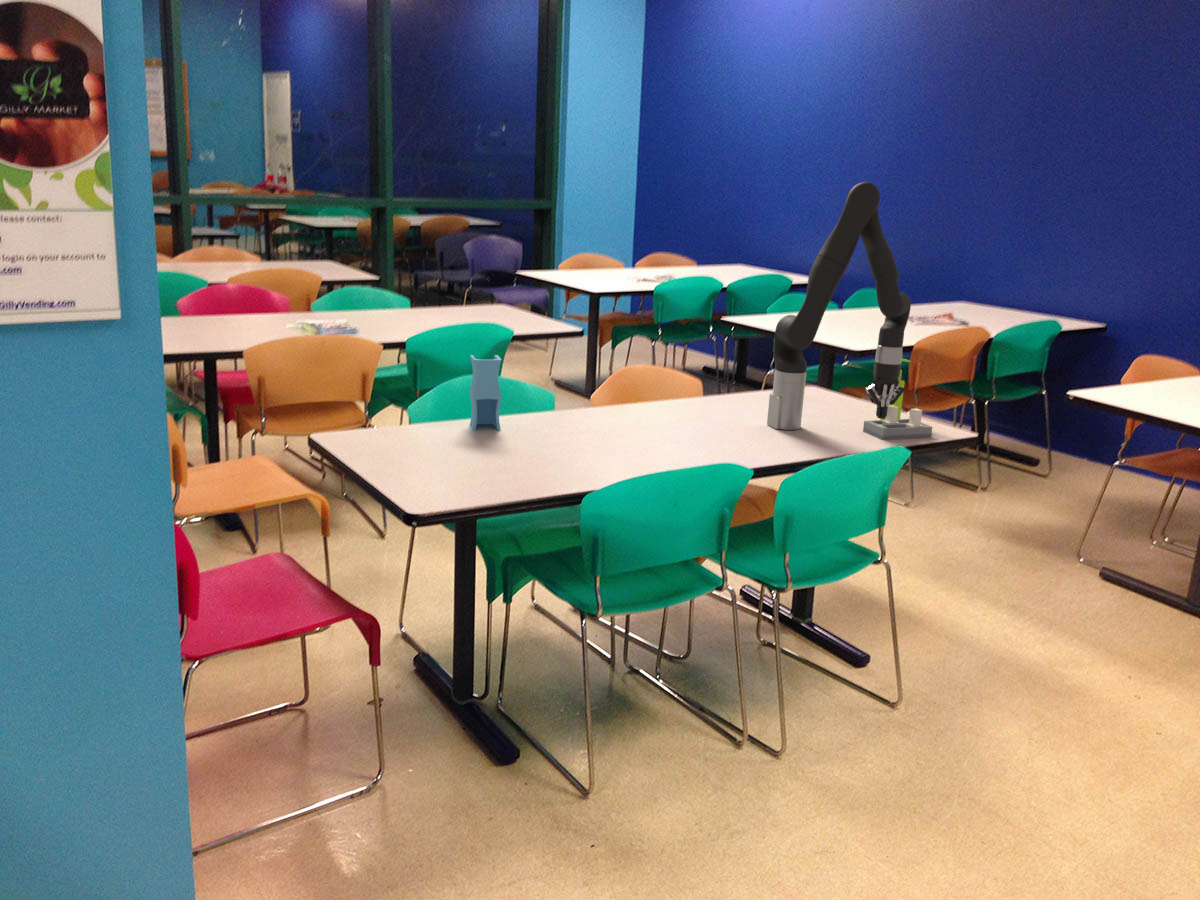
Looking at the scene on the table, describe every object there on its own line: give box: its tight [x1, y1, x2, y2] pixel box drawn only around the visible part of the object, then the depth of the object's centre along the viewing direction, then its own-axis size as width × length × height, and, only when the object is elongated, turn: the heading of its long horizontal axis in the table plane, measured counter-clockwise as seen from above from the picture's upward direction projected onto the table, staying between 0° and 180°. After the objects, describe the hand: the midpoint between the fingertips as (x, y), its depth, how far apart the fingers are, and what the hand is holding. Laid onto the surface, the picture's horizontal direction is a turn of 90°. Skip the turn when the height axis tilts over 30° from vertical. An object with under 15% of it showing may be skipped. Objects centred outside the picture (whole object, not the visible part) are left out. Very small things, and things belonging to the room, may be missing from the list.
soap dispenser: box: [879, 358, 912, 420], centre depth 319 cm, size 6×7×20 cm
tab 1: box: [882, 405, 899, 424], centre depth 307 cm, size 4×3×7 cm
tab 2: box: [905, 408, 923, 427], centre depth 305 cm, size 4×3×7 cm
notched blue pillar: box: [469, 354, 503, 432], centre depth 289 cm, size 8×8×20 cm
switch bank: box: [862, 418, 933, 441], centre depth 306 cm, size 17×10×3 cm, turn 110°
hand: (881, 418), depth 306 cm, fingers closed
